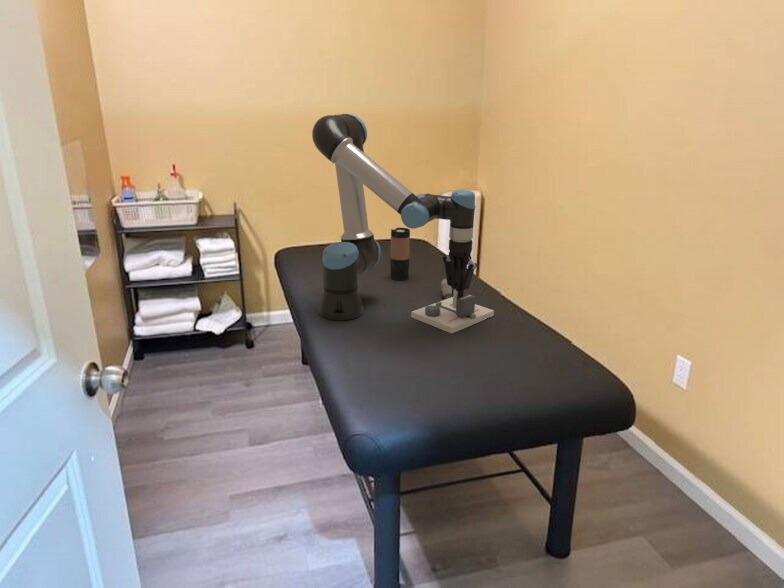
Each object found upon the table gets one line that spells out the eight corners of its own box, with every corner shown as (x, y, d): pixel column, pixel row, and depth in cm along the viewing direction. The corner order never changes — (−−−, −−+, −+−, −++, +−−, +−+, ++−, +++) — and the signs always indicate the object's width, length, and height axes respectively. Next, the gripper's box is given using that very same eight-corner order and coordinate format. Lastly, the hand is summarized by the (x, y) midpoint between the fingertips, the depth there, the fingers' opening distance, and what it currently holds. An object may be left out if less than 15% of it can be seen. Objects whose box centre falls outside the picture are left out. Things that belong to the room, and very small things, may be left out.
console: (451, 333, 181) (452, 322, 180) (411, 317, 194) (411, 306, 192) (493, 315, 196) (494, 305, 194) (453, 301, 208) (453, 291, 207)
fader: (462, 317, 187) (463, 300, 185) (455, 315, 189) (456, 297, 187) (474, 313, 191) (475, 296, 189) (467, 310, 193) (468, 293, 191)
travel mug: (408, 281, 228) (410, 232, 221) (389, 280, 228) (390, 232, 221) (408, 275, 236) (410, 227, 229) (390, 274, 236) (391, 227, 229)
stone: (445, 301, 208) (446, 286, 206) (432, 293, 216) (432, 278, 214) (464, 298, 211) (465, 283, 209) (450, 290, 220) (451, 276, 218)
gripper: (484, 241, 182) (479, 309, 190) (453, 233, 191) (449, 299, 199) (469, 245, 177) (464, 315, 186) (438, 237, 186) (434, 304, 194)
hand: (456, 307), depth 192 cm, fingers closed
